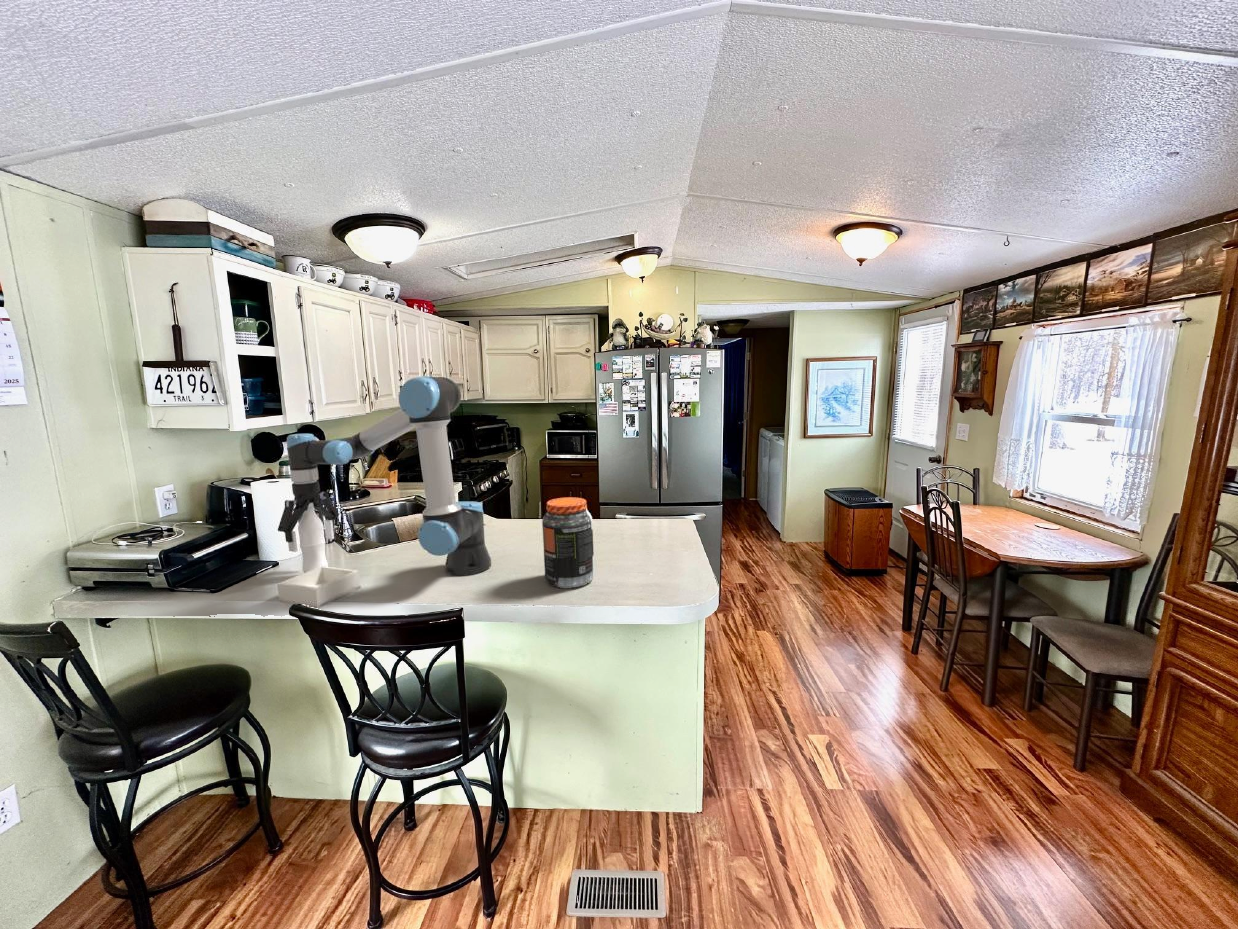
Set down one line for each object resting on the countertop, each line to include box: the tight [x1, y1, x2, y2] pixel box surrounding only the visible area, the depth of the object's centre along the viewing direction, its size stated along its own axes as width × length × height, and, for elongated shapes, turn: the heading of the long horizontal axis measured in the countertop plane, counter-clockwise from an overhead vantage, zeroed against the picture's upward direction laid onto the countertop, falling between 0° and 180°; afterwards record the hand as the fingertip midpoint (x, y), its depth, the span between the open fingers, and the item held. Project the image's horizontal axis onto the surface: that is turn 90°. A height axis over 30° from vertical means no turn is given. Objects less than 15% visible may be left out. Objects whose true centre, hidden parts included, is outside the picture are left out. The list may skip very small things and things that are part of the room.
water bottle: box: [297, 502, 329, 573], centre depth 165 cm, size 7×7×25 cm
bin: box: [277, 566, 361, 609], centre depth 151 cm, size 15×15×6 cm
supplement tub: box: [541, 496, 595, 589], centre depth 158 cm, size 16×16×26 cm
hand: (312, 544), depth 165 cm, fingers open, 13 cm apart
